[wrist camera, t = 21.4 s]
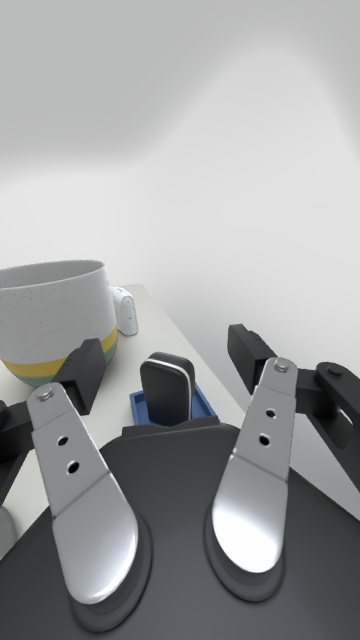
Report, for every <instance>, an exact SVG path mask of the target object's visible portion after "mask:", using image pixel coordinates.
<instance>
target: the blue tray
mask: <svg viewBox="0 0 360 640" xmlns="http://www.w3.org/2000/svg"><path fill="white" fill-rule="evenodd" d="M130 400H131V406H132V411H133V416H134V421H135V426H136V425H144V424H150V425H159V424H157V423H155V422H153V421H150V420H149V417H148V411H147V405H146V401H145V397H144V392H143V390H142V391H139V392H136V393H133V394H130ZM212 415H216V414H215V412H214V411H213V409H212V408H211V406H210V404H209V403H208V401H207V400H206V398H205V396H204V395H203V393H202V392H201V390H200V388H199V387H198V385H197V384H196V382H195V392H194V394H193V396H192V417H193V418H197V417H205V416H212ZM219 422H220V420H219ZM220 423H221V422H220ZM159 426H162V425H159Z"/></svg>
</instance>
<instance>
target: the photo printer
mask: <svg viewBox="0 0 360 640" xmlns="http://www.w3.org/2000/svg"><path fill="white" fill-rule="evenodd" d="M110 290H111V295H112V300H113V305H114V311H115V317H116V324H117V328H118V329H119V330H120V331H121V332H122V333H123V334H125V335H127V336H132V335H134V334H136V333H137V332H138V324H137V318H136V311H135V305H134V300H133V298H132V296H131V295H130V294H129V293H128V292H127V291H126V290H124V289H122V288H120V287H114V288H110Z"/></svg>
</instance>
